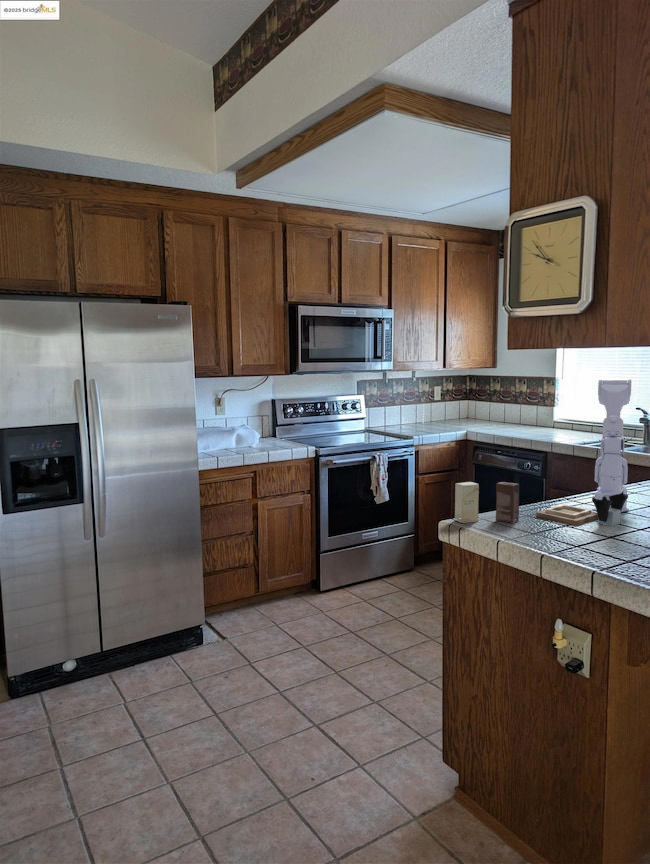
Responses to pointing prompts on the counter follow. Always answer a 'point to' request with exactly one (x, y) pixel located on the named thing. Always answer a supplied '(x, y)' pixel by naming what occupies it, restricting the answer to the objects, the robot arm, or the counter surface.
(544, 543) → the counter surface
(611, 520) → the block
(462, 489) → the skincare box
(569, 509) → the base board
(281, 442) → the counter surface
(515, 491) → the box
